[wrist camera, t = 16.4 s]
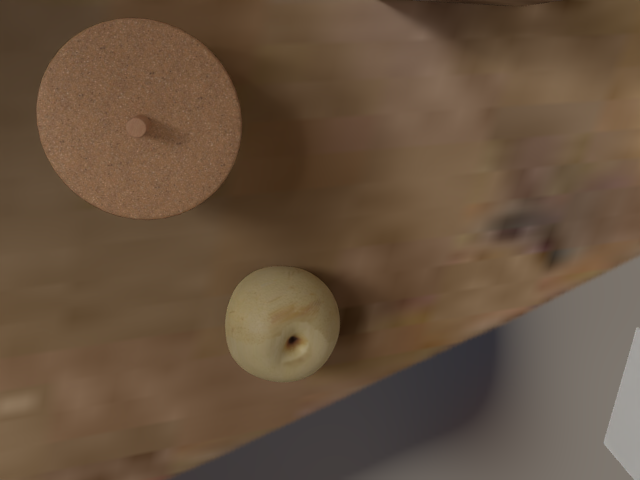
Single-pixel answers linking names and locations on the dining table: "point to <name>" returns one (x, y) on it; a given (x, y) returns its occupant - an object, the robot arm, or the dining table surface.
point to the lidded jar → (139, 118)
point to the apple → (281, 323)
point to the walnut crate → (497, 2)
